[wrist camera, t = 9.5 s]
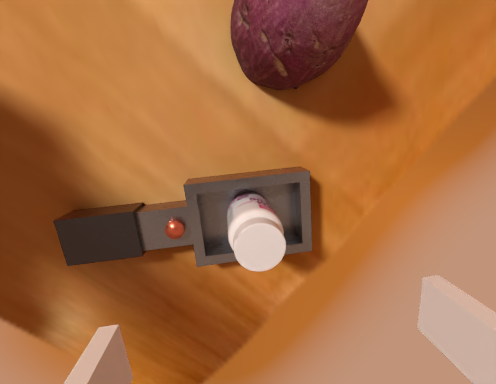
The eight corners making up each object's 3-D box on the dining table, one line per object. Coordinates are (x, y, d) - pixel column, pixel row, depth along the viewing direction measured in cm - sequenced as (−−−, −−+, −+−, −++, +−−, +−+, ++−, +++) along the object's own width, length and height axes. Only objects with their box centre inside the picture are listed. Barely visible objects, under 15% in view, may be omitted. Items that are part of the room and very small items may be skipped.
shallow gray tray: (89, 267, 27) (71, 285, 23) (68, 192, 24) (45, 201, 21) (303, 238, 28) (313, 251, 25) (300, 166, 26) (310, 171, 23)
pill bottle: (272, 192, 26) (295, 219, 18) (268, 233, 27) (288, 277, 19) (228, 190, 25) (230, 217, 17) (225, 232, 26) (227, 277, 18)
